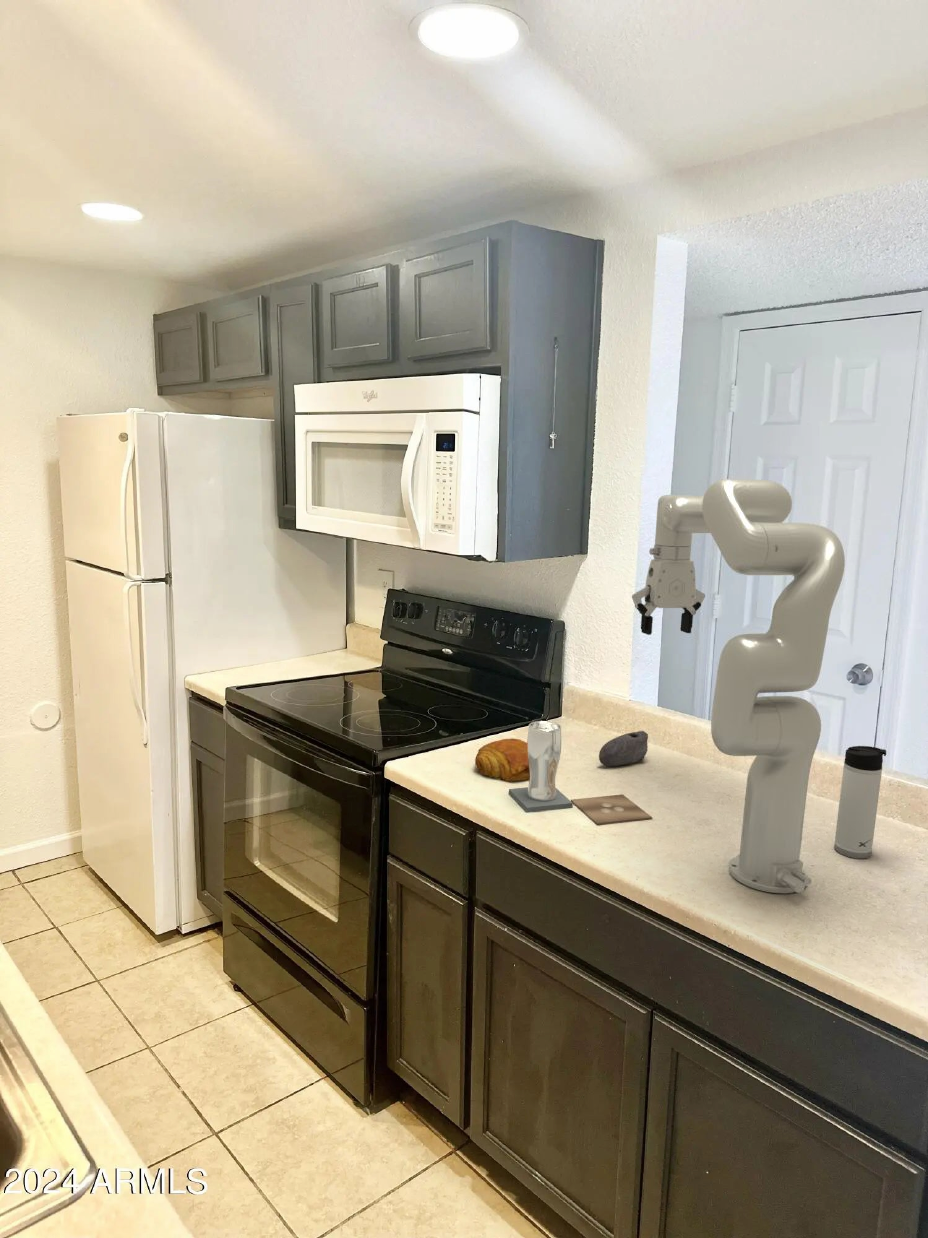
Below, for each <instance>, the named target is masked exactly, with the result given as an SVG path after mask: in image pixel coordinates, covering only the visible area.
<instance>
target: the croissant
mask: <svg viewBox="0 0 928 1238" xmlns="http://www.w3.org/2000/svg"><path fill="white" fill-rule="evenodd" d="M474 759H475V760H474V762H475V767H476V769H477V771H478V773H480V774H481V775H484V776H486V777H490V778H491V777H492V778H494V779H498V780H499V779H500V780H501V781H504V782H521V781H526V780H529V779H530V774H529V765H528V757H527V741H525V740H522V739H520V738H512V737H511V738H502V739H500V740H499V739H498V740H494V741H491V742H489V743H486V744H484V745H482V746H481V747H480V748H479V749H478V750H477V754H476V756H475V758H474Z"/></svg>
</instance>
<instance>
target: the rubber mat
mask: <svg viewBox="0 0 928 1238" xmlns="http://www.w3.org/2000/svg"><path fill="white" fill-rule="evenodd" d="M527 790H528V786H527V787H515V788H508V795H509V796H510V797H512V799H513V800H514V801H515V802H516V803H517V804H518V805H519V806H520V807H521V808H522V809H523V810H524V811H525V812H526V813H534V812H543V811H544V812H545V811H553V810H561V809H563V810H564V809H571V808H573V805H574V804H573V803H572V802H571V799H569V798H568V797H567V796H566V795H564V794H563V792H561V791H560V790H559V789H558V788H557V787H556V798H555V799H553V800H551V801H537V800H533V799H531V798H529V797H528V796H527Z"/></svg>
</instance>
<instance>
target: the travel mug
mask: <svg viewBox="0 0 928 1238" xmlns="http://www.w3.org/2000/svg"><path fill="white" fill-rule="evenodd" d="M883 756H884V757H886V756H887V750H886V749H883V748H879V747H875V746H871V745H870V746H867V745H854V746H850V747H848V748H847V749H846V750H845V756H844V757H845V758H844V761H843V768H842V778H841V785H840V793H839V803H838V812H837V819H836V826H835V828H836V829H835V836H834V844H833V845H834V846H833V848H834V850H835V851H836V852H838V854H841V855H843V856H845V857H847V858H853V859H858V860H859V859H860V860H861V859H863V860H864V859H867V858H870V857H871V856H872V850H873V844H874V836H875V828H876V821H877V815H878V814H877V813H878V812H877V811H878V806H879V796H880V789H881V782H882V774H883V773H882V771H883V764H884V763H883V762H884V759H883V758H884V757H883Z"/></svg>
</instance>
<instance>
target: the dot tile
mask: <svg viewBox="0 0 928 1238" xmlns="http://www.w3.org/2000/svg"><path fill="white" fill-rule="evenodd" d="M570 801H571V802H572V803H573V805H574V806H575V807H576V808H578V810H580V811H581V813H583V814H584V815H585V816H586V817H587V818H588V819H590V820H591V821H592V822H593V823H594V824H595V825H597V826H602V825H603V826H604V825H610V824H620V823H629V822H638V821H639V822H640V821H646V820H647V821H648V820H653V817H652V816H651V815H650V814H649V813H647V812H646V811H645V810H643V809H642V808H641V807H640V806H638V804H636V803H635V802H633V801H632V800H630V799H629V798H628V797H627V796H626V795H624V794H614V795H613V794H612V795H611V794H610V795H603V796H593V797H592V796H591V797H584V798H583V797H582V798H574V799H572V798H571V799H570Z"/></svg>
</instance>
